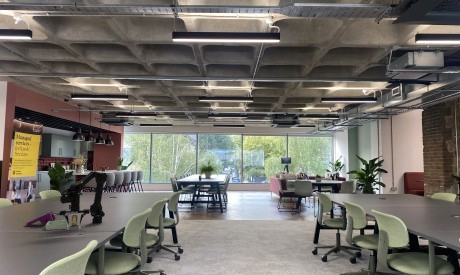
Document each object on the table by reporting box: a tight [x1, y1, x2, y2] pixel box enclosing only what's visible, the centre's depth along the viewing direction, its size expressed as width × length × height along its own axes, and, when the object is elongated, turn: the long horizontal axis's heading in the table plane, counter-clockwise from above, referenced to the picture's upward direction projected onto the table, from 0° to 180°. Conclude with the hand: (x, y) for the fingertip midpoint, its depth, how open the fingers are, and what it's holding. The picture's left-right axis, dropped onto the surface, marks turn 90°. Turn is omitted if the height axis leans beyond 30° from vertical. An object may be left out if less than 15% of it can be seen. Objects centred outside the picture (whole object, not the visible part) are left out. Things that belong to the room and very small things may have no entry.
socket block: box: [67, 224, 82, 231], centre depth 223 cm, size 8×8×3 cm
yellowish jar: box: [71, 214, 78, 227], centre depth 223 cm, size 4×4×9 cm
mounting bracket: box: [25, 210, 57, 227], centre depth 241 cm, size 10×8×18 cm
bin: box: [45, 219, 70, 231], centre depth 226 cm, size 13×13×5 cm
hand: (74, 224), depth 223 cm, fingers open, 7 cm apart
